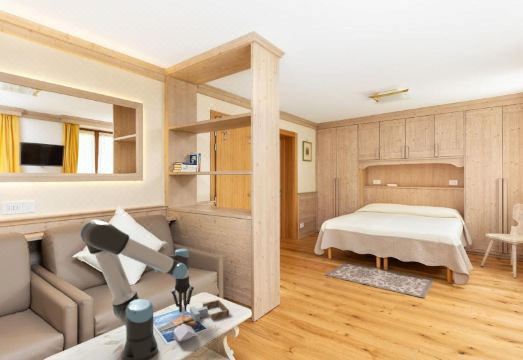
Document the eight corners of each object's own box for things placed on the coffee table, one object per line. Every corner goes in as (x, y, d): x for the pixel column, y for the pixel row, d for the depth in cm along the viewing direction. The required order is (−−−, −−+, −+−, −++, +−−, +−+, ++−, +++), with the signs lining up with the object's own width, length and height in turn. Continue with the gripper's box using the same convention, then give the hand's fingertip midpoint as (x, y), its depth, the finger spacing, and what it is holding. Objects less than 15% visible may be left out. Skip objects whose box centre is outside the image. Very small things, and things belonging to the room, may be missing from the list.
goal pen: (212, 319, 164) (212, 314, 163) (202, 308, 178) (202, 303, 178) (228, 315, 169) (228, 310, 169) (218, 304, 183) (218, 299, 183)
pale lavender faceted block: (197, 341, 143) (188, 329, 154) (197, 328, 143) (188, 317, 153) (179, 347, 138) (171, 334, 149) (179, 333, 138) (171, 322, 149)
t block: (194, 321, 162) (194, 314, 162) (189, 314, 170) (189, 307, 170) (210, 317, 166) (209, 310, 166) (204, 310, 175) (204, 304, 175)
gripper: (172, 280, 156) (172, 323, 157) (195, 276, 163) (196, 317, 163) (169, 276, 163) (169, 317, 163) (191, 272, 169) (192, 311, 170)
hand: (182, 317), depth 163 cm, fingers closed
